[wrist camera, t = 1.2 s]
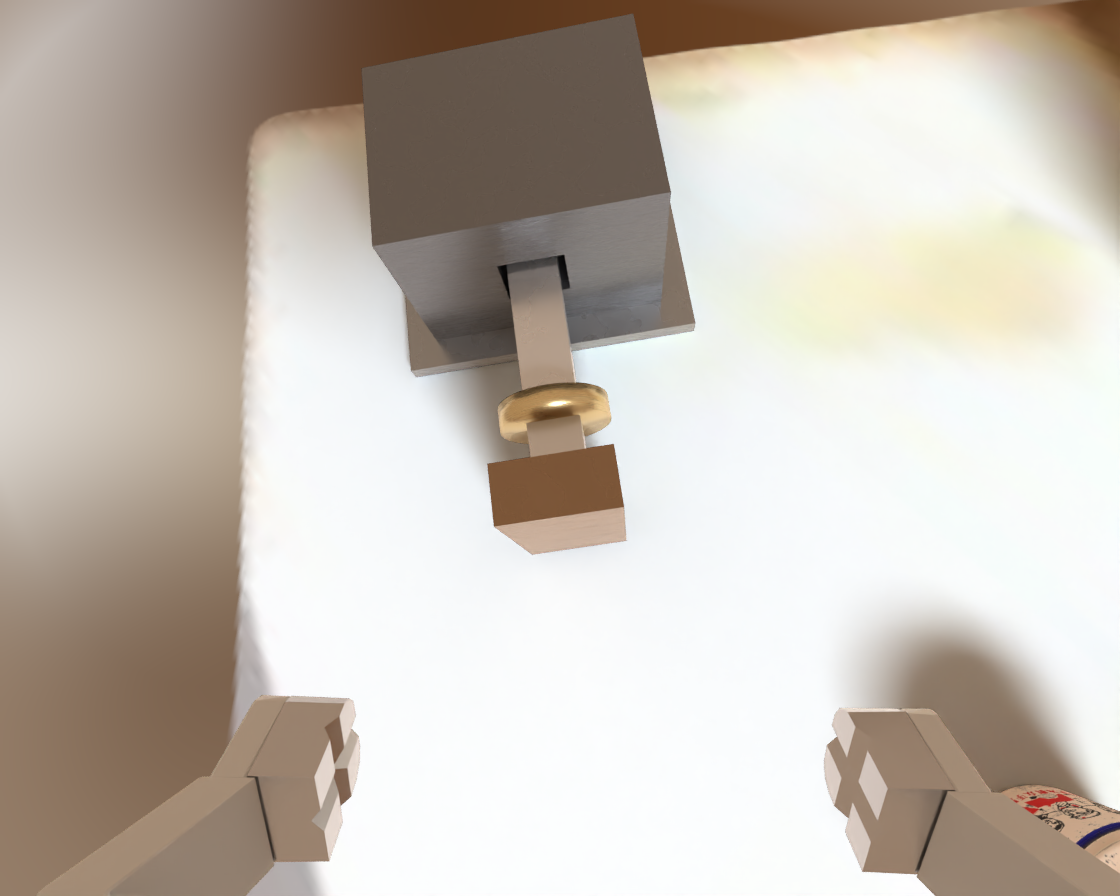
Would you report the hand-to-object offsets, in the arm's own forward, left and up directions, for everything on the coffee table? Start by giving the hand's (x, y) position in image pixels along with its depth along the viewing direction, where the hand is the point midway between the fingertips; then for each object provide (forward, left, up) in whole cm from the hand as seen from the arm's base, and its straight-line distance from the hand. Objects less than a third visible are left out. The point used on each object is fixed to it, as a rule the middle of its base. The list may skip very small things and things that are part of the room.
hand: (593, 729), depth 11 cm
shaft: (-6, -16, -29) cm, 34 cm away
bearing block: (-11, -27, -31) cm, 42 cm away
